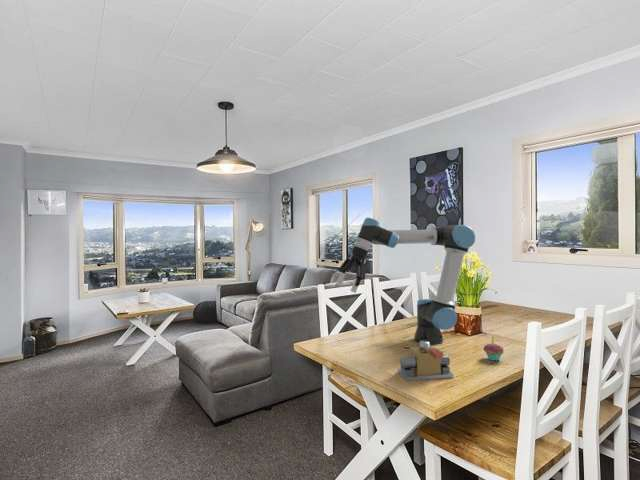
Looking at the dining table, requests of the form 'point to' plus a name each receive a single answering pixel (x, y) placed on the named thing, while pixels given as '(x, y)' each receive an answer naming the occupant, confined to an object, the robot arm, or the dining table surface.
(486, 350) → the cupcake
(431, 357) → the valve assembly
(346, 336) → the dining table surface
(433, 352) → the lever
